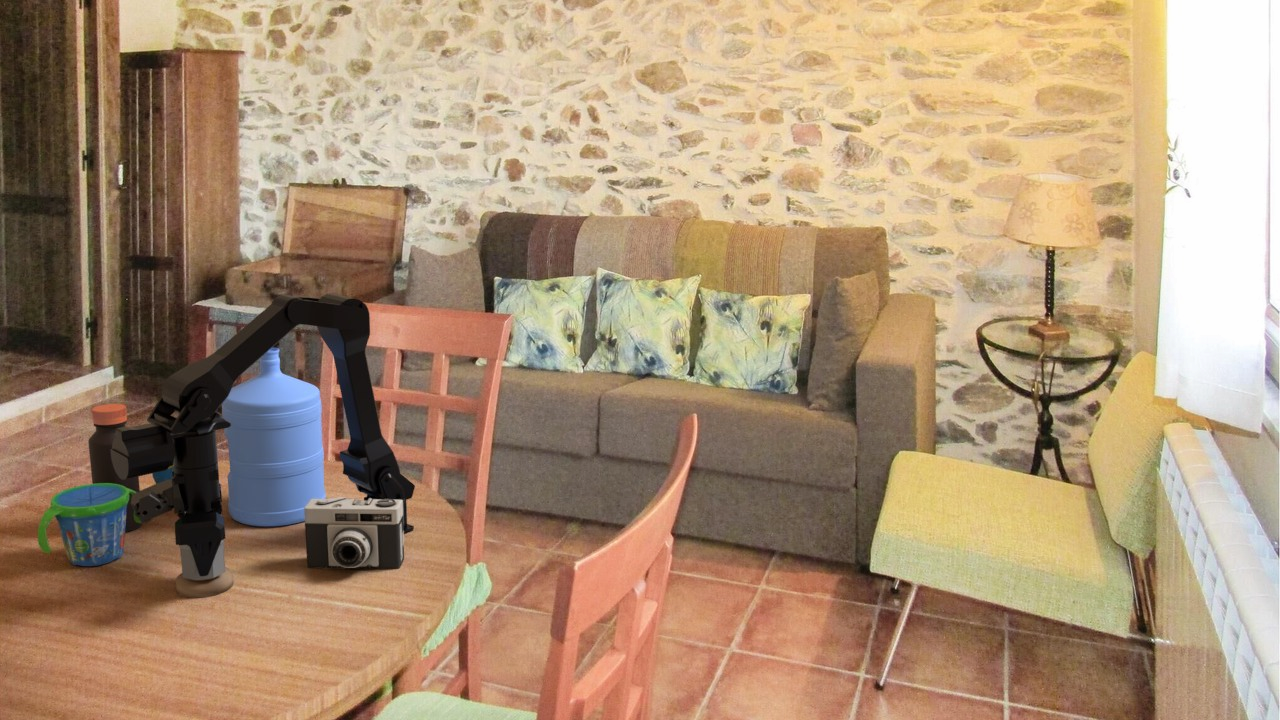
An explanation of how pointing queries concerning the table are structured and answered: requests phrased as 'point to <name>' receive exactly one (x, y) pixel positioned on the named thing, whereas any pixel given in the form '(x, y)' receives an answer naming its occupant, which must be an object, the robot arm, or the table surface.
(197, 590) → the stub
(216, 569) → the cap
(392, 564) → the camera
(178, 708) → the table surface
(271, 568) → the table surface
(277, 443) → the water jug
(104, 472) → the bottle
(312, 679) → the table surface
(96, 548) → the snack cup
